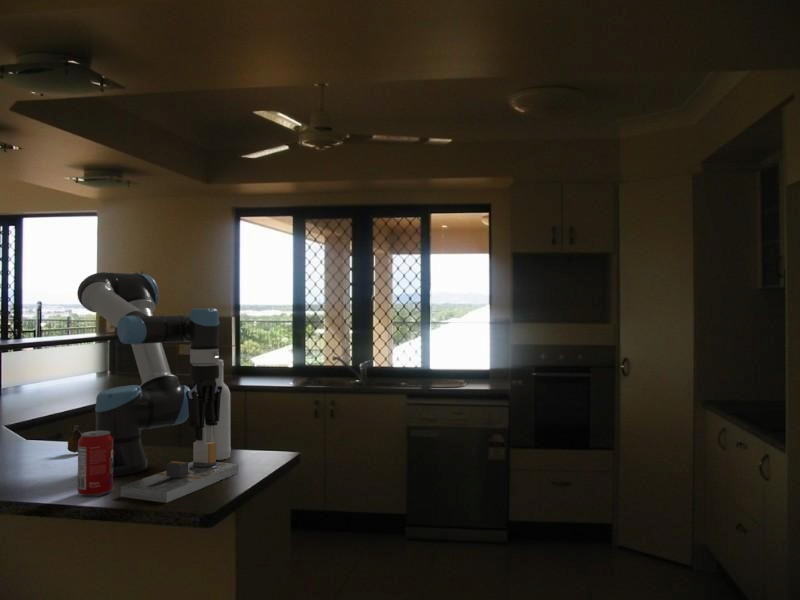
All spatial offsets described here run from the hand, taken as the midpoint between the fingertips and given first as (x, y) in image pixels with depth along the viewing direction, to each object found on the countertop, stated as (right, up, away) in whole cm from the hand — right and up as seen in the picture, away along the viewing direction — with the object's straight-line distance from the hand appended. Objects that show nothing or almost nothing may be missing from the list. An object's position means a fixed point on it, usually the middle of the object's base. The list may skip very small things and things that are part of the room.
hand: (204, 450), depth 168 cm
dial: (0, -4, 0) cm, 4 cm away
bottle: (-3, -8, +21) cm, 22 cm away
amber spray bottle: (-50, -8, +27) cm, 57 cm away
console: (-3, -7, -8) cm, 11 cm away
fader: (-4, -7, -10) cm, 13 cm away
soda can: (-22, -7, -16) cm, 28 cm away
